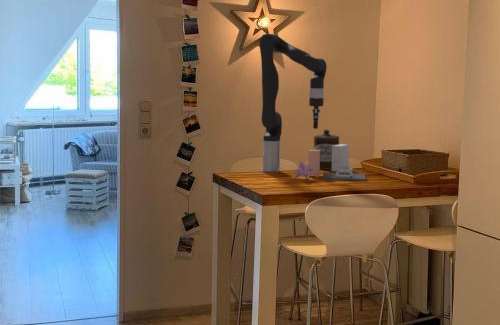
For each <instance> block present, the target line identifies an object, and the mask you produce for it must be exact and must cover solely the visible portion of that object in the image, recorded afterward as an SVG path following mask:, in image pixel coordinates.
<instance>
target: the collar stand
mask: <svg viewBox="0 0 500 325" xmlns="http://www.w3.org/2000/svg"><path fill="white" fill-rule="evenodd" d="M347 169H348V170H347ZM353 172H354V170H353V166H348V167H336V172H323V173H322V180H324V181H325V180H326V181H353V182H354V181H358V182H359V181H361V182H362V181H363V182H365V181H367V178H366V175H365V173H353Z"/></svg>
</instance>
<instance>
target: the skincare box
mask: <svg viewBox="0 0 500 325" xmlns="http://www.w3.org/2000/svg"><path fill="white" fill-rule="evenodd" d="M349 158H350V145H349V144H344V143H339V145H332V169H331V171H332V172H334V173H336V167H350V165H349V164H350V163H349ZM347 170H349V169H347Z"/></svg>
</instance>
